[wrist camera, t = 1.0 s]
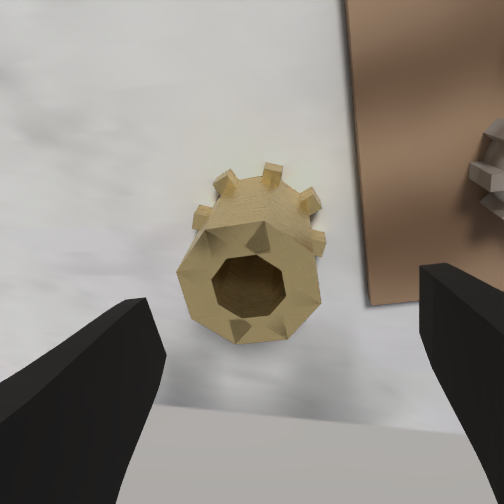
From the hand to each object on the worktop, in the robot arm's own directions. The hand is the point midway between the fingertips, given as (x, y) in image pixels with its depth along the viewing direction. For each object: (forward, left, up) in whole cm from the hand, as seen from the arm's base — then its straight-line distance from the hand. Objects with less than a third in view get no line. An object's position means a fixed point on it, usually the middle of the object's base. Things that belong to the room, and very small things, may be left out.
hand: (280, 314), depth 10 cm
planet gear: (-1, +1, -10) cm, 10 cm away
